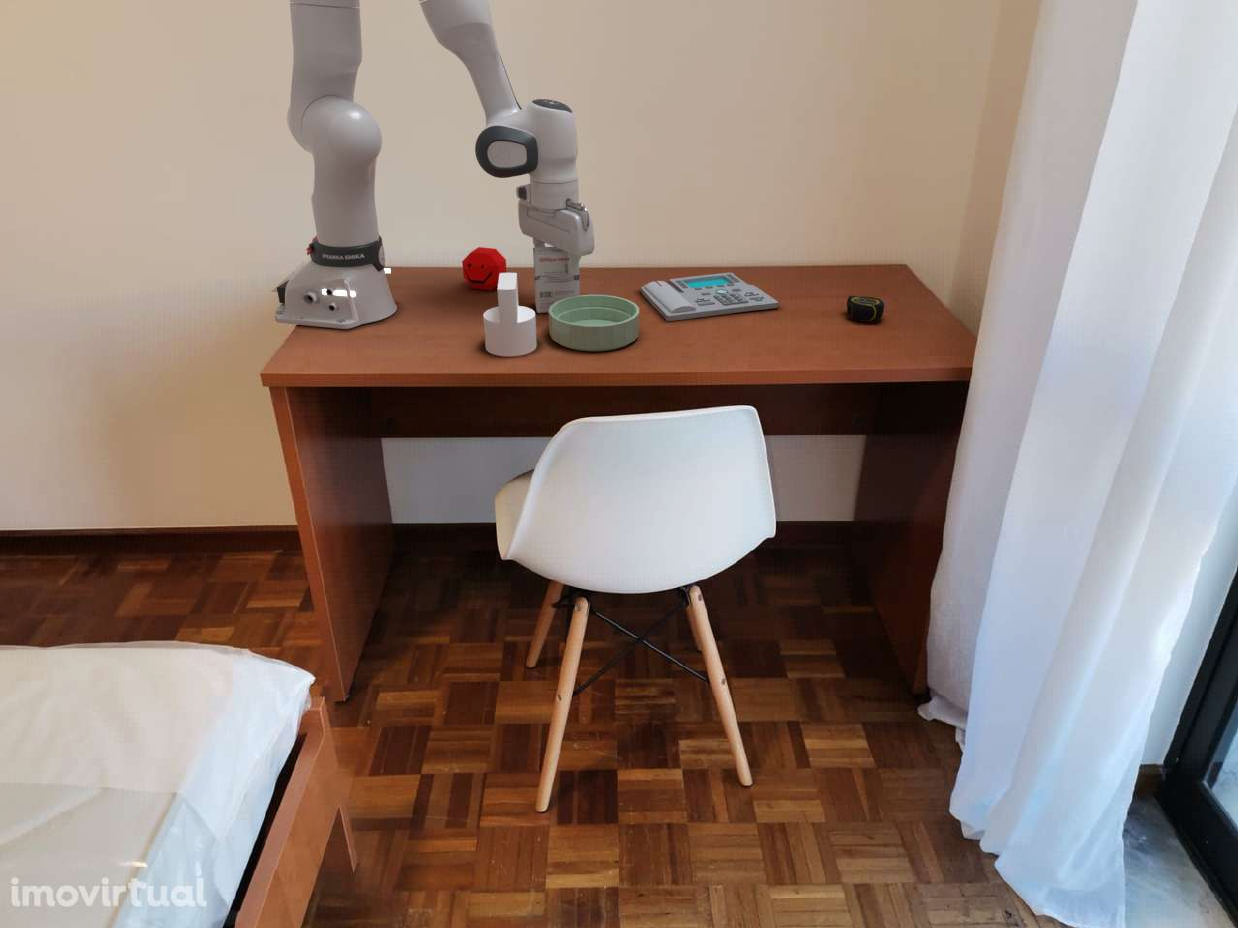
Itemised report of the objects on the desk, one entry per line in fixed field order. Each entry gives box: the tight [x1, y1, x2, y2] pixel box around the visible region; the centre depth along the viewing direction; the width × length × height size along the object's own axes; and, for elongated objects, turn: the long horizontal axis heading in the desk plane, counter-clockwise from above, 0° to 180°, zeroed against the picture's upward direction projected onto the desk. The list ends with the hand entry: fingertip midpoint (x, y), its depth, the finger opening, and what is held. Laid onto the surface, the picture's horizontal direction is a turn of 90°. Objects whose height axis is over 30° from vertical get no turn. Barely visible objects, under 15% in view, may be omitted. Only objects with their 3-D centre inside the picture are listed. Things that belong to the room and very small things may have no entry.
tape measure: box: [846, 295, 885, 323], centre depth 172 cm, size 7×7×4 cm
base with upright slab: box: [482, 272, 538, 357], centre depth 157 cm, size 9×9×12 cm
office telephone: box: [640, 272, 779, 322], centre depth 181 cm, size 23×3×20 cm
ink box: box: [532, 246, 581, 314], centre depth 174 cm, size 8×5×12 cm, turn 99°
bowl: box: [548, 294, 640, 352], centre depth 163 cm, size 16×16×5 cm
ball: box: [461, 246, 508, 291], centre depth 186 cm, size 8×8×8 cm
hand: (557, 267), depth 173 cm, fingers open, 8 cm apart
